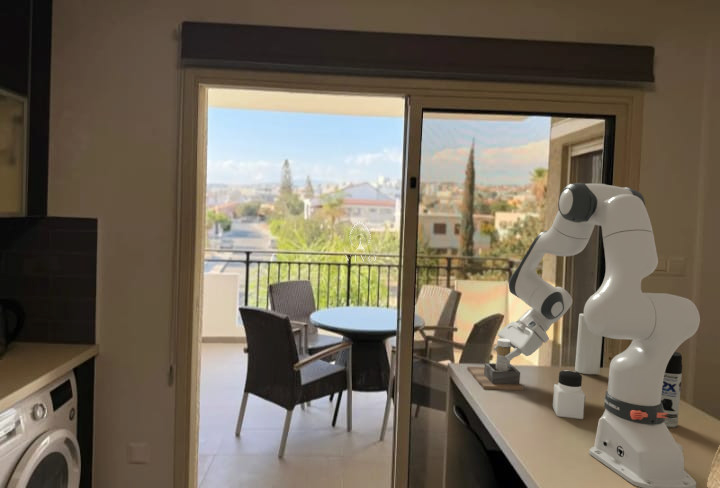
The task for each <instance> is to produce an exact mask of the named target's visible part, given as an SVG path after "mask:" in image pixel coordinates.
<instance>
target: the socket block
mask: <svg viewBox="0 0 720 488" xmlns="http://www.w3.org/2000/svg"><path fill="white" fill-rule="evenodd" d="M466 369H467V371H468V372H469V373H470V375H471V376H472V377H473V378H474V379H475V381H476V382H477V383H478V384H479V385H480V386H481V388H482V389H483V390H502V391H504V390H507V391H524V389H525V388H524V386H523V385H522V384H521V383H520V379H521V372H520V371H519V370H518V369H517V368H516V367H515V366H514V365H512V364H511V363H510V368H509V371H496V362H495V363H494V362H493V363H489V362H488V363H487V362H485V363H484V366H467V367H466Z"/></svg>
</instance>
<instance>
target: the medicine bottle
mask: <svg viewBox="0 0 720 488" xmlns="http://www.w3.org/2000/svg"><path fill="white" fill-rule="evenodd" d="M582 381H583V375H582V373H579V372H577V371H575V370H567V369H564V370H561V371H559V373H558V383H554V385H553V393H552V394H553V397H552V408H553V410H554V413H555V415H556V416H557V417H561V418H568V419H569V418H570V419H577V420H578V419H579V420H583V419H584V417H585V404H586V394H585V392H584V391H583V390H582V385H583V384H582Z"/></svg>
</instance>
